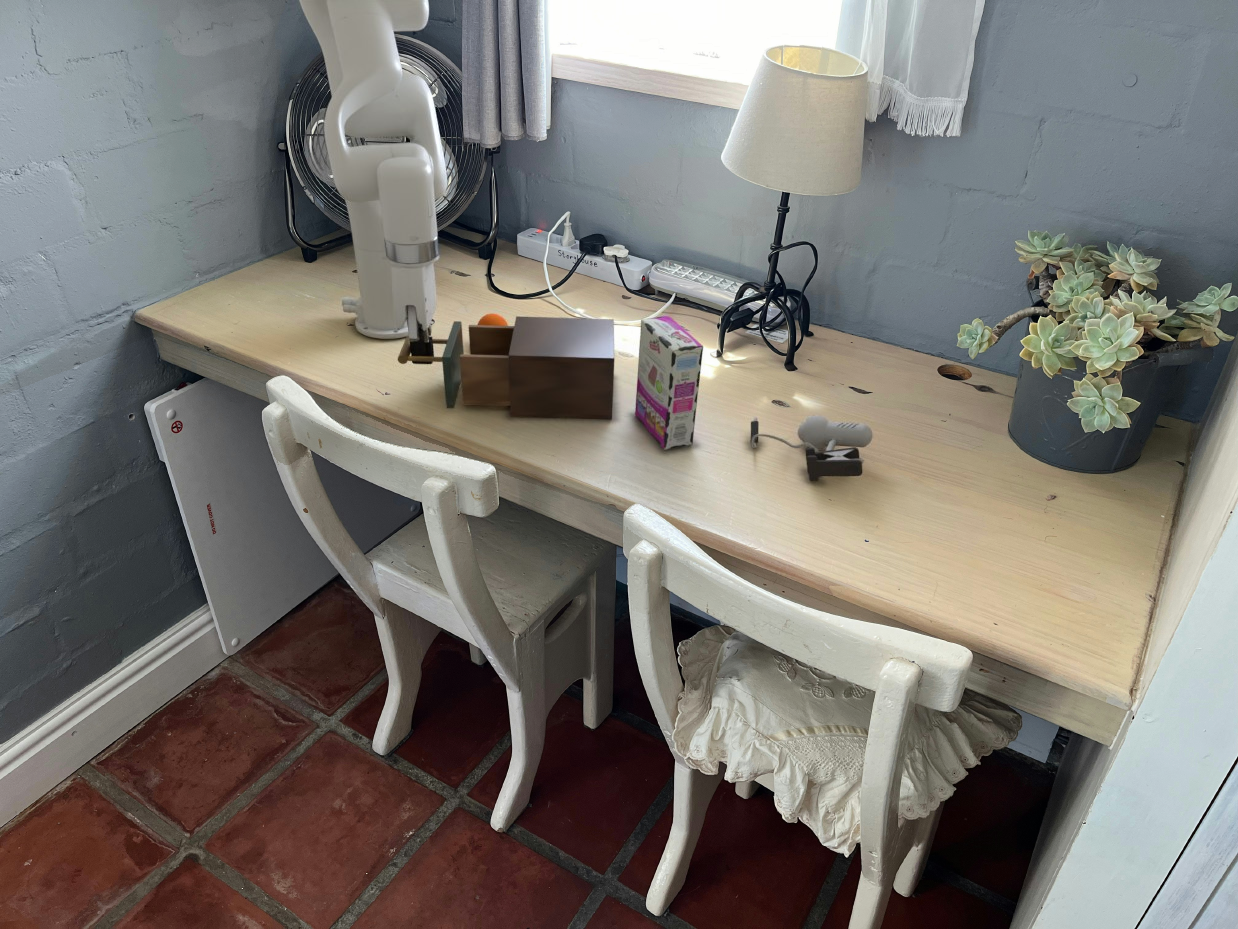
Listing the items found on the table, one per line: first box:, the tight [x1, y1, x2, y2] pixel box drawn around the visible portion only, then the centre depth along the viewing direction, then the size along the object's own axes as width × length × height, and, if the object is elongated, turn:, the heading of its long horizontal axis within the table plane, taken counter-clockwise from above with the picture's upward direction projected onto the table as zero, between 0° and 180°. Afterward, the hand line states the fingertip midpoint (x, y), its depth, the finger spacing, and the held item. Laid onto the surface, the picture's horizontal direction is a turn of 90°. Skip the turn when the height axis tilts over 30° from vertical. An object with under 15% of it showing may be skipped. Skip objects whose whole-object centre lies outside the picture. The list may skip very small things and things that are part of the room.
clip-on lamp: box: [750, 414, 873, 483], centre depth 127 cm, size 12×6×18 cm
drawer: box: [397, 320, 514, 409], centre depth 137 cm, size 22×12×9 cm, turn 91°
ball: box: [477, 313, 509, 326], centre depth 153 cm, size 6×6×6 cm
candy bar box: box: [634, 315, 704, 451], centre depth 128 cm, size 11×5×16 cm, turn 23°
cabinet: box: [509, 315, 615, 421], centre depth 137 cm, size 16×14×11 cm
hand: (423, 361), depth 136 cm, fingers closed
